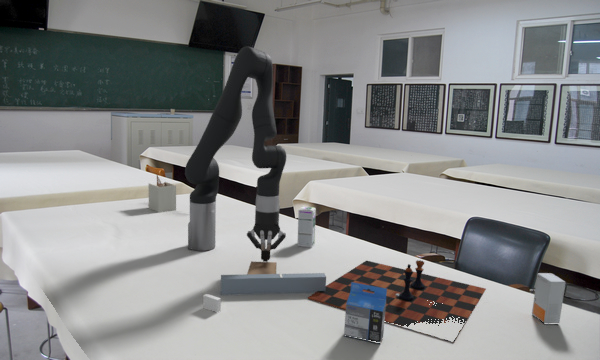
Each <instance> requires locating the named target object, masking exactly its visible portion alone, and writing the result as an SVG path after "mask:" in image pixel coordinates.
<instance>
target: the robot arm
mask: <svg viewBox="0 0 600 360" xmlns="http://www.w3.org/2000/svg"><path fill="white" fill-rule="evenodd" d="M273 69H274V68H273V60H272V57H271V56H270V54H268V53H267V52H265V51H262V50H260V49H257V48H254V47H251V46H248V45H247V46H246V45H245V46H244V47H243V46H242V48H241V49H240V50H239V51H238V52H237V55H236V56H235V59H234V61H233V64H232V66H231V70H230V72H229V74H228V78H227V81H226V82H225V85H224V87H223V91H222V93H221V95H220V97H219V100H218V102H217V103H216V106H215V107H214V109H213V112H212V114H211V116H210V118H209V121H208V124H207V125H206V127H205V129H204V132H203V134H202V135H201V138H200V140H199V142H198V144H197V146H196V147H195V149H194V151H193V152H192V154H191V156H190V157H189V159H188V161H187V163H186V164H185V169H184V175H185V177H186V180H187V181H188V182H189V183H191V184H193V185H196V186H195V188H194V190H193V191H191V192H190V194H189V222H188V224H187V227H188V228H187V240H188V241H187V249H188V250H193V251H198V252H202V251H203V252H204V251H210V250H213V249H215V248H216V226H217V225H216V215H217V214H216V212H217V210H216V209H217V208H216V207H217V204H216V203H217V195H218V194H219V186H220V185H219V184H220V183H219V182H220V167H219V164H218V163H219V162H218V161H217V160H216V159H215V158H214V157H215V155H216V154H217V152H218V151H219V150H220V149H221V148H222V147H223V146H224V145H225V144H226V143H227V142H228V141H229V140H230V138H231V137H232V136H233V135H234V133H235V131H236V130H237V127H238V126H239V123H240V122H241V119H242V115H243V106H242V103H243V102H242V90H243V88H244V86H245V83H246V81H247V79H248V78H249V79H253V80H255V82H256V87H257V95H256V99H255V102H254V104H253V107H252V111H251V121H252V126H253V134H254V135H253V136H254V137H253V147H252V153H251V160H252V162H253V163H252V164H253V165H254V167H256V168H258V169H270V170H269V172H268V173H266V174H263V175H260V176H259V177H258V178H257V180H256V198H255V211H254V213H255V215H254V225H253V228H252V229H251V230H248V231H247V233H246V236H247V238H248V239H249V240H250V242H251V243H252V245H253V246H254V247H255V248H256V249H259V250H260V259H261V261H262V262H269V261H270V259H271V250H276V249H277V248H278V246H280V244H281V243H282V242H283V240H285V239H286V237H287V236H286V235H287V234H286V232H283V231H282V230H281V227H280V207H281V205H280V183H281V180H282V175H283V172H284V169H285V166H286V162H287V152H286V150H285V148H284V147H283V146H281V145H265V142H267V141H270V140H274V139H275V138H276V137H277V127H276V126H277V125H276V119H275V114H274V113H275V112H274V102H273V98H274V97H273V95H274V94H273V90H274V89H273V86H274V85H273V83H274V82H273V80H274V77H273V76H274V75H273V71H274V70H273ZM256 236H257V237H258V239H259V240H260V242H259V240H258V239H257V238H256ZM276 237H277V239H276V240H275V241H274V242H273V243H272V240H274V239H275V238H276Z"/></svg>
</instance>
